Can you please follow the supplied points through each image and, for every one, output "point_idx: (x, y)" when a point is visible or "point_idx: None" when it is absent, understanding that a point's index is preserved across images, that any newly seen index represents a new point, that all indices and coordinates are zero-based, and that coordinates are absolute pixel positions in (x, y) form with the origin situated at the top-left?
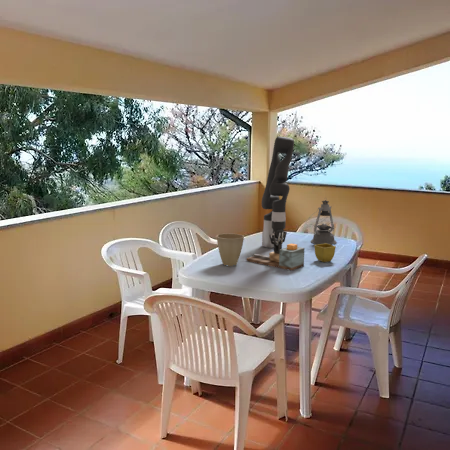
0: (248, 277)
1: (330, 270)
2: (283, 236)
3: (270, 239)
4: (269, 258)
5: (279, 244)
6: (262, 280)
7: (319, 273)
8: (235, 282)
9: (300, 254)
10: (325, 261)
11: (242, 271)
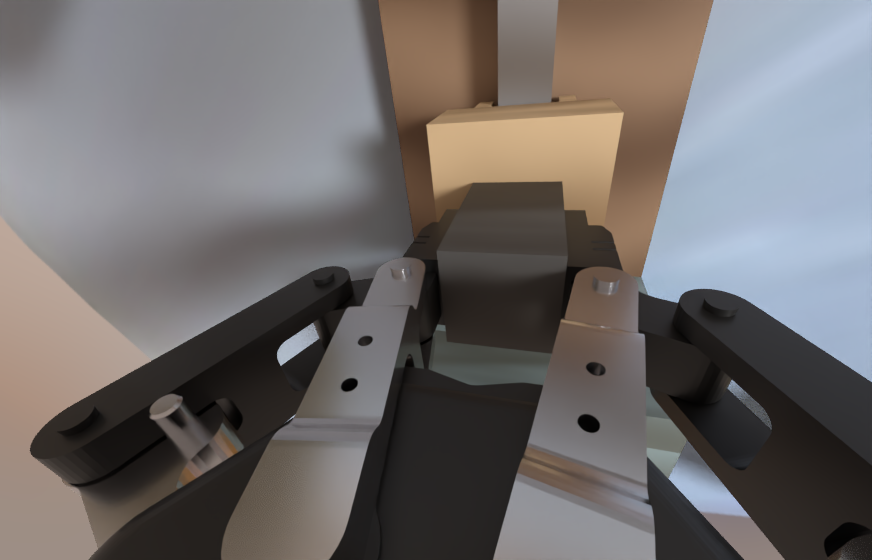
0: (133, 223)
1: None
2: (771, 503)
3: (205, 337)
4: (498, 69)
5: (479, 341)
6: (187, 304)
7: None
8: (49, 225)
9: None
10: None
11: (125, 93)
